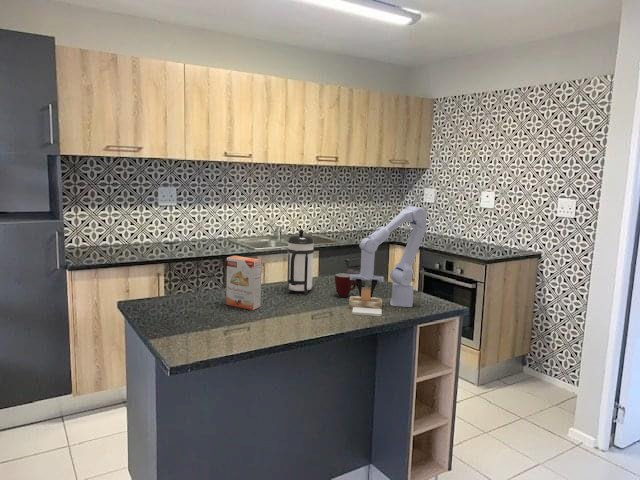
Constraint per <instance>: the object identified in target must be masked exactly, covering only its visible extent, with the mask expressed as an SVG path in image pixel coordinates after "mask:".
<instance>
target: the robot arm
mask: <svg viewBox="0 0 640 480" xmlns="http://www.w3.org/2000/svg"><path fill="white" fill-rule="evenodd" d="M427 218H428V214H427V211H426V209H424V208H423V207H419V206H418V207H417V206H413V205H408V206H406V207H405V208H403V209H402V210H401V211H400V212H399V214H398V215H397V216H395V217H394V218H393V219H392V220H391V221H390V222H389V223H388V224H386V225H385V226H380V227H376V229H375V231H374V232H372V233H371V234H369V235H368V236H367V237H364V238H363V239H361V241H360V243H359V245H358V247H359V248H360V250H361V253H360V254H361V255H360V258H361V259H360V271H359V273H360V274H358V275H352V274H350V280H352V279H353V280H356V284H357V285H356V288H357V290H358V293H359V296H360V297H361V289H362V286H361V285H362V280H365V281H371V286H370V288H371V295H370V297H371V298H372V297H373V293H374V291H375V288H376V287H377V285H378V282H381V283H383V282H384V279H385V277H384V276H382V275H375V273H374V272H375V255H376V254H375V253H376V252H377V251H378V247H379V246H380V245H381V244H382V243H383V242H385V241H386V240H387V239H388V238H390V236H391V235H390V234H391V233H392V232H393V231H395V230H396V229H398V227H400V226H401V225H403V224H404V223H409V224H410V226H411V228H412V231H411V233H410V235H409V238H408V241H407V243H406V246H405V248H404V251H403V253H402V256H401V258H400V261H399V262H398V263H397V264H395V266H394V268H393V269H392V270H391V272H390V279H391V280H392V288H391V299H390V300H389V301H390V306H392V307H406V308H413V303H414V285H410V284H411V283H412V281H413V274H414V269H413V264H414V261H415V260H416V258H417V257H416V256H417V254H418V251H419V249H420V246H421V243H422V241H423V239H424V236H425V233H426V231H427Z"/></svg>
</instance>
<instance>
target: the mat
mask: <svg viewBox="0 0 640 480" xmlns="http://www.w3.org/2000/svg"><path fill="white" fill-rule="evenodd" d="M382 311H383V310H382V309H372V308H358V307H353V308H352V311H351V315H355V316H356V315H357V316H370V317H382V316H383V315H382Z"/></svg>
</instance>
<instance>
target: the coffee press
mask: <svg viewBox="0 0 640 480" xmlns="http://www.w3.org/2000/svg"><path fill="white" fill-rule="evenodd" d="M314 244H315V240H314V237H312V236H311V235H308V234H304V230H303V229H300V230H298V234H292V235H291V236H289V237H288V239H287V251H286V252H287V269H286V270H287V272H286V273H287V274H286V276H287V279H286V280H287V281H286V285H287V286H286V289H284V292H285V293H286V294H288V293H287V292H291V291H294V292H303V295H304V296H307V295H309V291H314V289H315V288H314V287H313V271H314V270H313V269H314V267H313V266H314V251H315V248H314Z"/></svg>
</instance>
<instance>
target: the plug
mask: <svg viewBox="0 0 640 480" xmlns="http://www.w3.org/2000/svg"><path fill="white" fill-rule="evenodd" d="M370 295H371V287H366V286H365V287H364V286H361V301H370Z"/></svg>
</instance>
